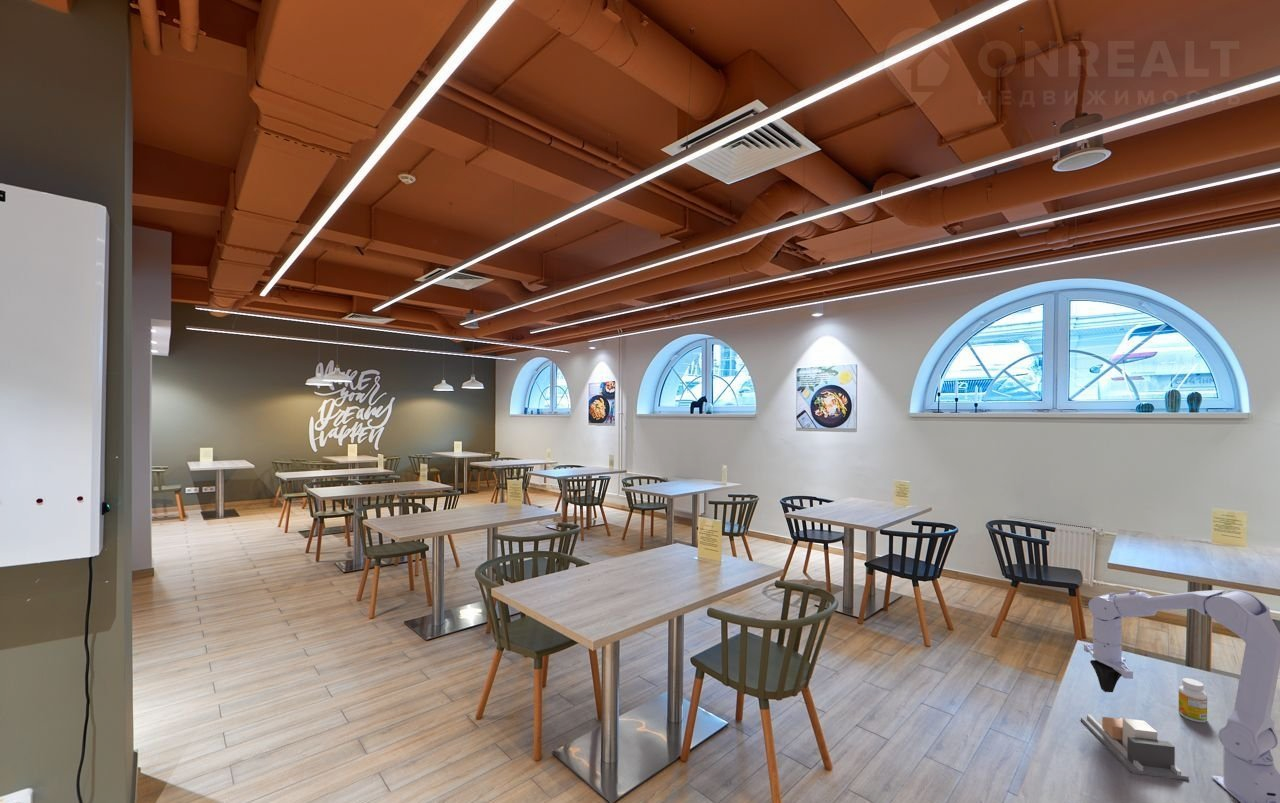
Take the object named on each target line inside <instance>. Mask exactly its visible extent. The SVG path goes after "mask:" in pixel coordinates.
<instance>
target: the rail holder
mask: <svg viewBox="0 0 1280 803" xmlns="http://www.w3.org/2000/svg"><path fill="white" fill-rule="evenodd" d="M1123 718H1124V717H1123ZM1123 718H1122V717H1119V718H1118V719H1123ZM1080 721H1081V723H1083V724H1084V725H1085V726H1086V727H1087V728H1088V729H1089V730H1090V731H1091V732H1092V733H1093V734H1094V736H1095V737H1097V739H1099V741H1100V742H1101V743H1102V744H1103V745H1104V746H1105V747H1106V748H1107V749H1108V750H1109V752H1111V753H1112V754H1113V755H1114V756H1115V757H1116V758H1117V759H1118V760H1119V761H1120V762H1121V764H1123V766H1124V767H1126V768H1127V769H1128V770H1129V771H1130V773H1132V774H1137V775H1144V776H1145V775H1146V776H1153V777H1161V778H1170V779H1177V780H1178V779H1179V780H1183V781H1184V780H1185V781H1190V779H1189V778H1190V776H1189V775H1187V773H1185V772H1184V771H1183V770H1182V769H1181V768H1180V767H1179V766H1177V765H1176V759H1175V758H1176V756H1175V755H1176V748H1175V746H1174V745H1173V744H1172V743H1171V742H1170V741H1167V740H1159V739H1157V740H1152V739H1143V738H1134V737H1128V740H1127V750H1126V749H1125V748H1124V747H1123V746H1122V745H1123V739H1115V738H1112V737H1111V736H1110V735H1109V734H1108V733H1107V732H1106V731H1105V730H1104V729H1103V728H1102V719H1098V718H1095V717H1093V716H1092V715H1091V714H1086V717H1080Z"/></svg>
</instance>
